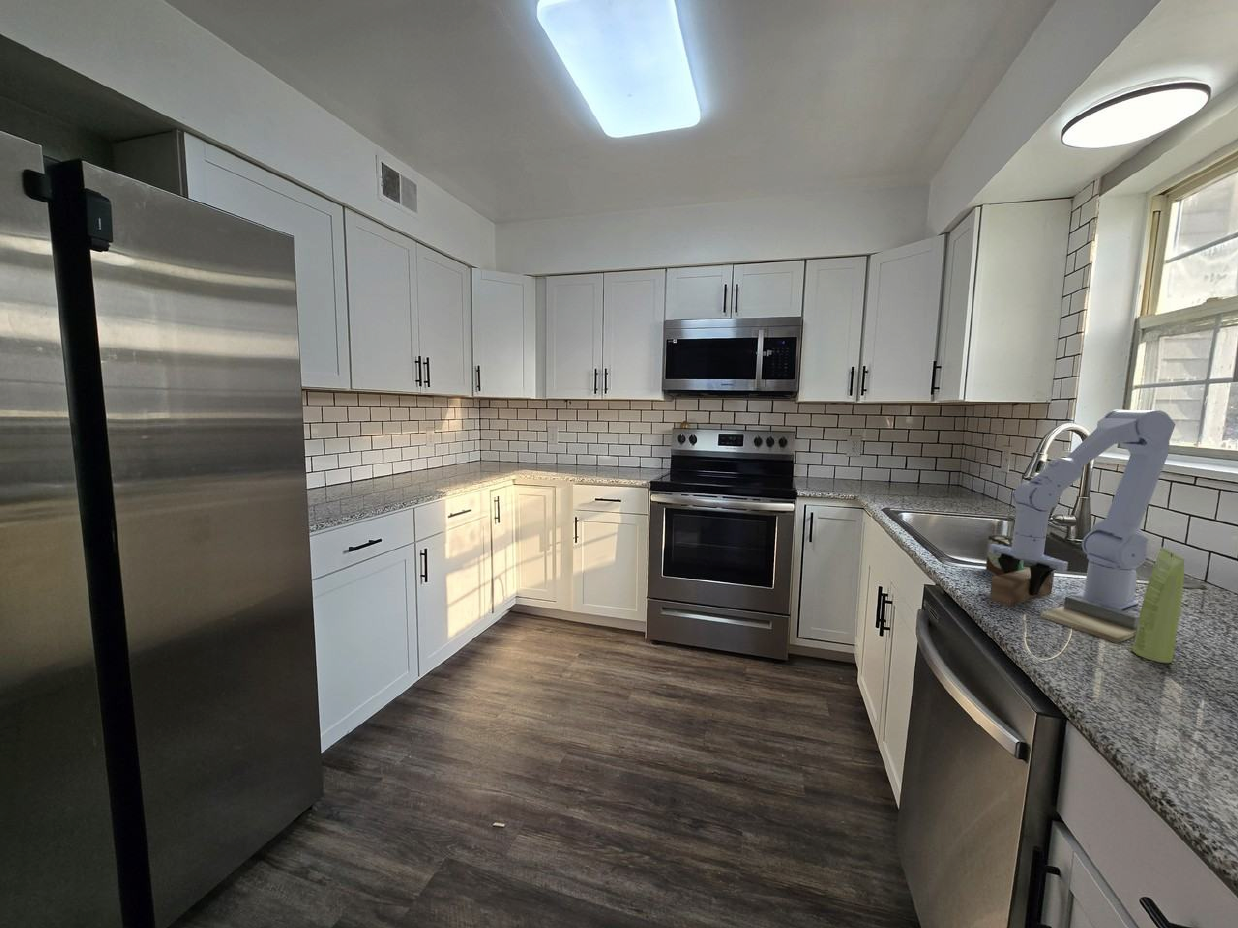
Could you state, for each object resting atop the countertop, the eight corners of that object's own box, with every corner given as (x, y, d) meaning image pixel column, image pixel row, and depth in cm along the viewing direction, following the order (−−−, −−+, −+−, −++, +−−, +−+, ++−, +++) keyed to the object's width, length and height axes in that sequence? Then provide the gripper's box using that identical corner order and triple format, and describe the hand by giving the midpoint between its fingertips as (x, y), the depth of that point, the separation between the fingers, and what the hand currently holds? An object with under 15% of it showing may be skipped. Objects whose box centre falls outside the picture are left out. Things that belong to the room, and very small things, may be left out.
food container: (1037, 586, 120) (1042, 547, 119) (1008, 584, 122) (1014, 545, 120) (1008, 570, 132) (1013, 534, 131) (982, 567, 133) (987, 532, 132)
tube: (1184, 664, 84) (1205, 556, 82) (1163, 667, 83) (1183, 557, 81) (1143, 648, 90) (1161, 546, 87) (1123, 650, 89) (1141, 547, 86)
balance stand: (1083, 604, 110) (1086, 589, 109) (1158, 626, 99) (1161, 610, 99) (1040, 616, 102) (1043, 601, 102) (1117, 643, 92) (1120, 625, 91)
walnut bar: (1031, 588, 119) (1034, 567, 118) (1051, 594, 115) (1054, 572, 115) (989, 599, 111) (992, 576, 111) (1009, 606, 108) (1012, 582, 107)
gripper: (984, 528, 116) (977, 582, 118) (1059, 544, 103) (1050, 605, 105) (1001, 525, 119) (994, 578, 121) (1076, 541, 106) (1067, 600, 108)
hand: (1021, 590), depth 113 cm, fingers closed on walnut bar, 4 cm apart
